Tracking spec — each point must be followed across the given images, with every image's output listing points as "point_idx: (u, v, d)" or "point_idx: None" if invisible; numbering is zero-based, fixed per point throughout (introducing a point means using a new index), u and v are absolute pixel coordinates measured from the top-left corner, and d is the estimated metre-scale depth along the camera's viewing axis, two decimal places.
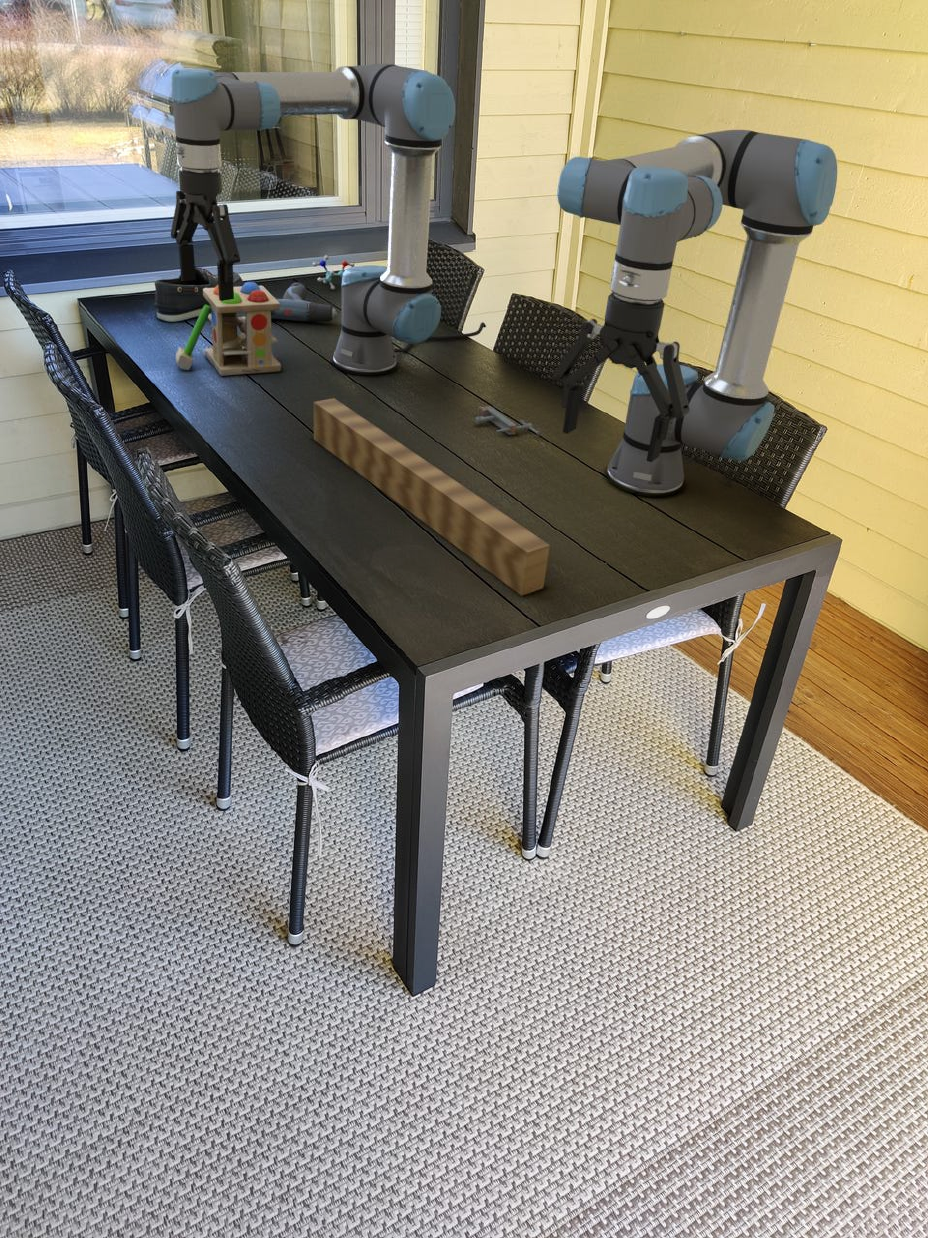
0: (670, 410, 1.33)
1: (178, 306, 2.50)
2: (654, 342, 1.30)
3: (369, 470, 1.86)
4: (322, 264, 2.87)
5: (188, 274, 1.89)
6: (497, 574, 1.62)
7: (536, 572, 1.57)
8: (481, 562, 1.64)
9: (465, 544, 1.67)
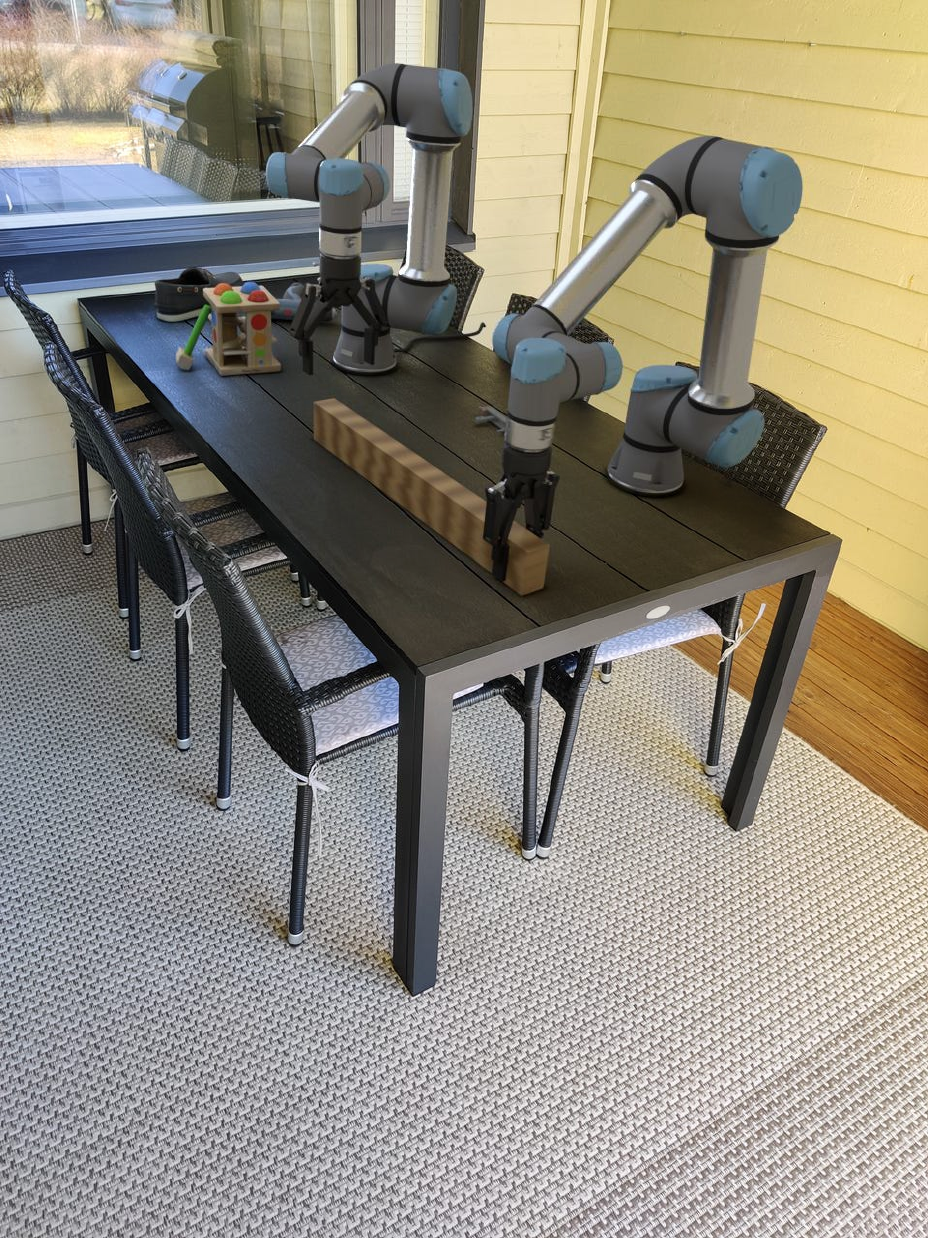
0: None
1: (178, 306, 2.50)
2: None
3: (369, 470, 1.86)
4: None
5: None
6: None
7: (536, 572, 1.57)
8: (481, 562, 1.64)
9: (465, 544, 1.67)
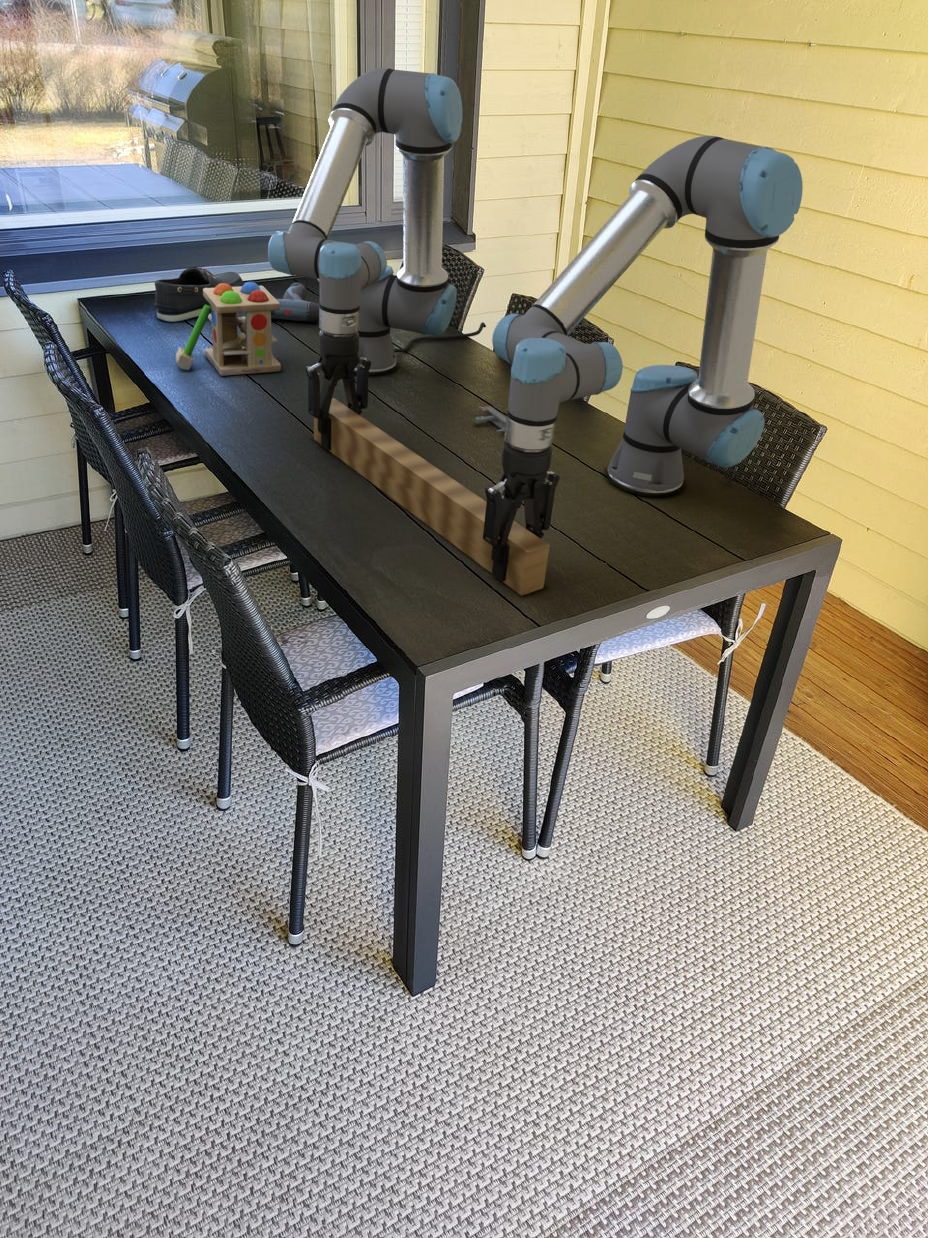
0: None
1: (178, 306, 2.50)
2: None
3: (369, 470, 1.86)
4: None
5: None
6: None
7: (536, 572, 1.57)
8: (481, 562, 1.64)
9: (465, 544, 1.67)
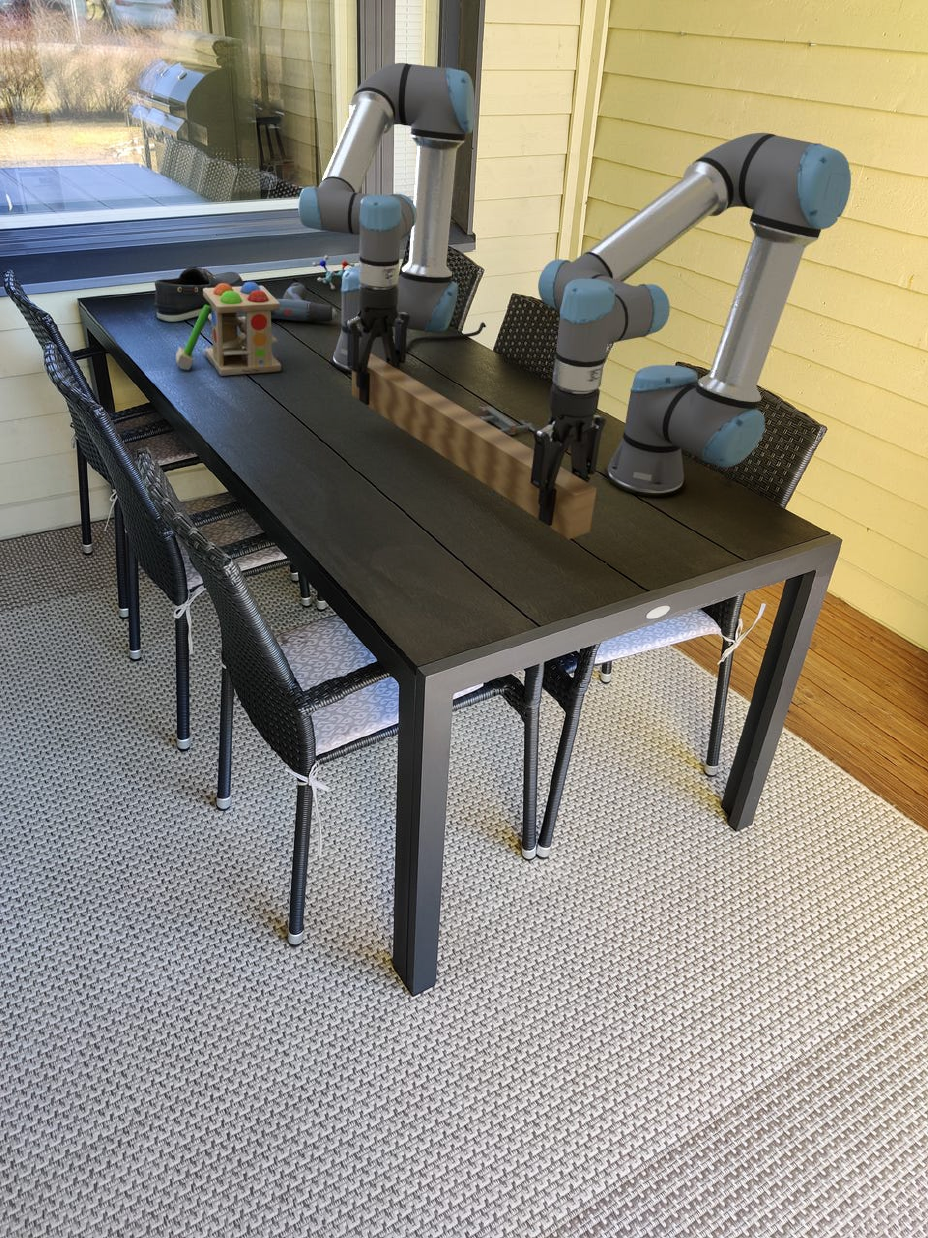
0: None
1: (178, 306, 2.50)
2: None
3: (410, 423, 1.87)
4: (322, 264, 2.87)
5: None
6: None
7: (583, 515, 1.59)
8: (527, 508, 1.66)
9: (510, 491, 1.68)
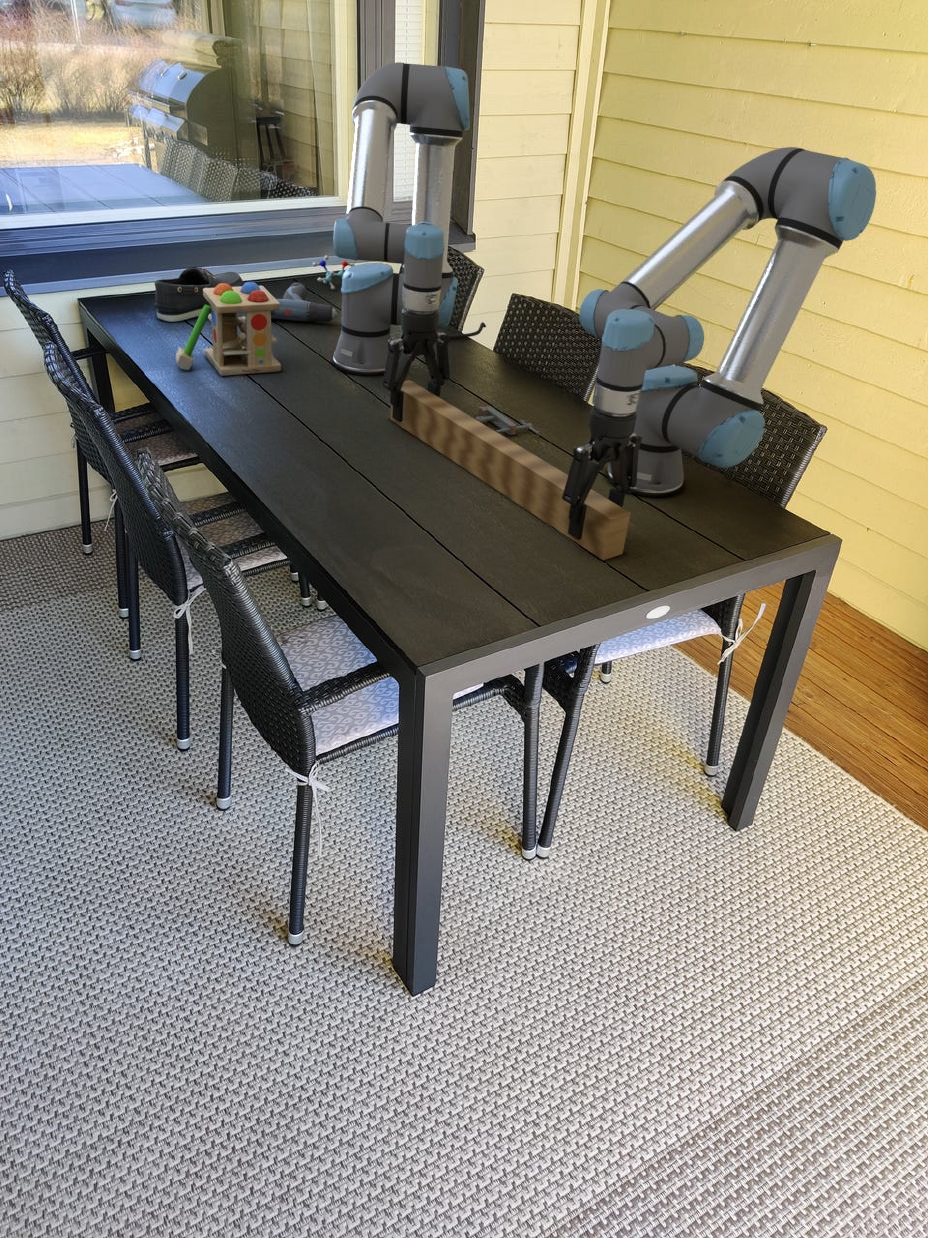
0: None
1: (178, 306, 2.50)
2: None
3: (448, 447, 1.97)
4: (322, 264, 2.87)
5: None
6: (579, 541, 1.73)
7: (617, 538, 1.69)
8: (563, 530, 1.76)
9: (546, 514, 1.78)
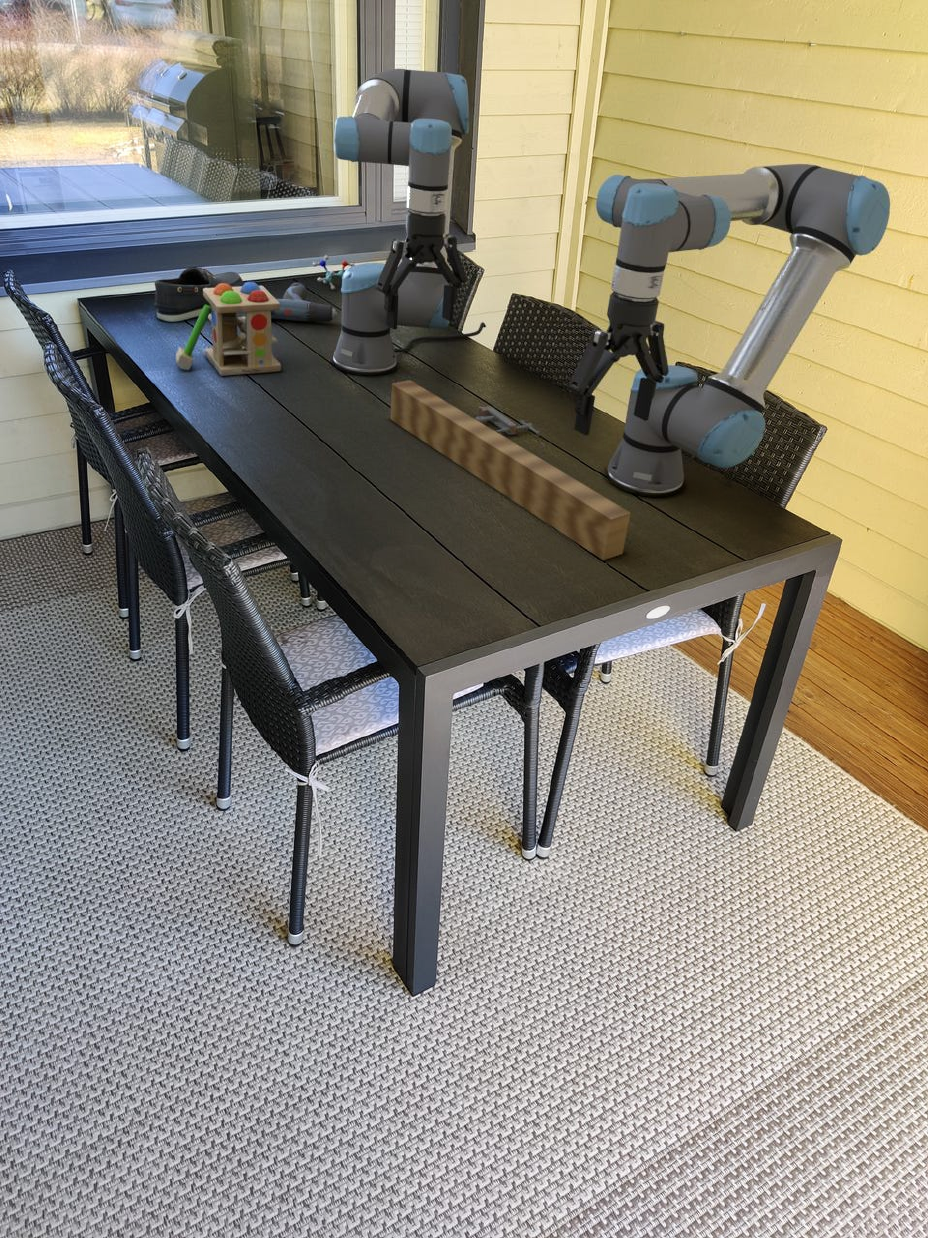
0: None
1: (178, 306, 2.50)
2: (650, 325, 1.54)
3: (448, 447, 1.97)
4: (322, 264, 2.87)
5: None
6: (579, 541, 1.73)
7: (617, 538, 1.69)
8: (563, 530, 1.76)
9: (546, 514, 1.78)
